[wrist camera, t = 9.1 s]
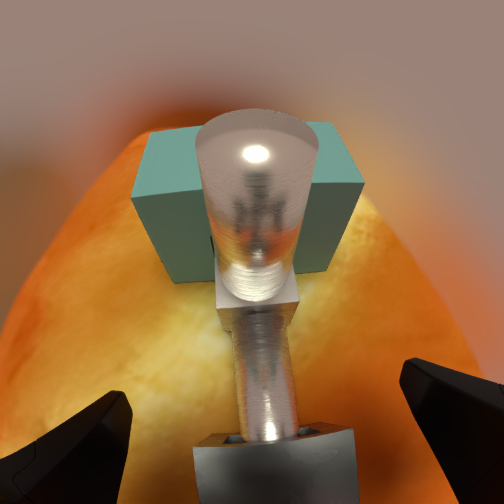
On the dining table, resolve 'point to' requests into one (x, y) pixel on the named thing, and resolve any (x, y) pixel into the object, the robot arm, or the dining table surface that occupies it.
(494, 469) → the robot arm
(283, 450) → the grey rectangular box
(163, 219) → the teal block
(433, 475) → the dining table surface
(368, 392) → the dining table surface
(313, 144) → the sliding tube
